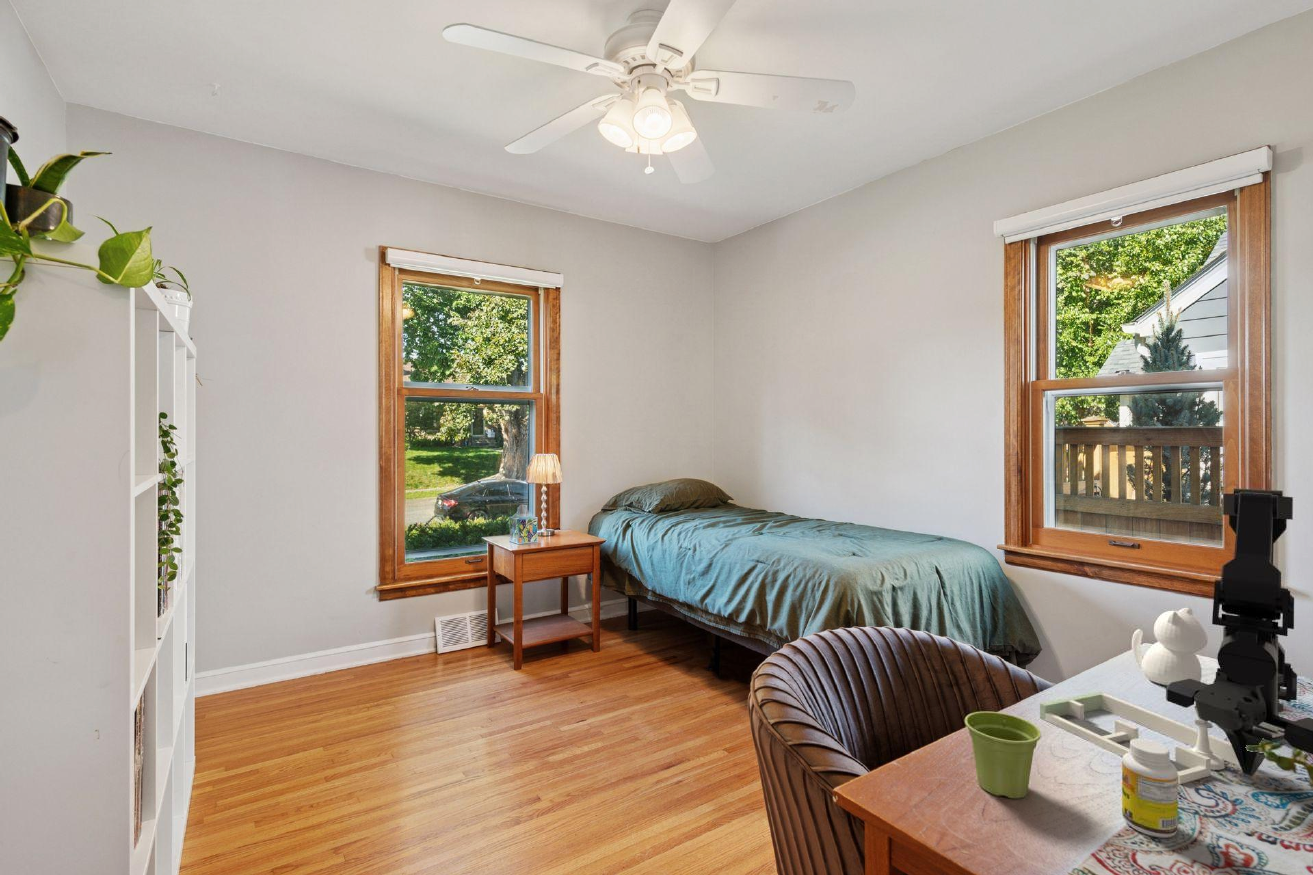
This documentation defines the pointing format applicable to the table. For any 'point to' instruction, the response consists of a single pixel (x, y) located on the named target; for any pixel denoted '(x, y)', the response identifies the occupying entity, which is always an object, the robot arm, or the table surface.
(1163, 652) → the cat figurine
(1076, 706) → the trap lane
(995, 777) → the plant pot
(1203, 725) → the chess piece
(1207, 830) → the table surface
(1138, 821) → the supplement bottle
